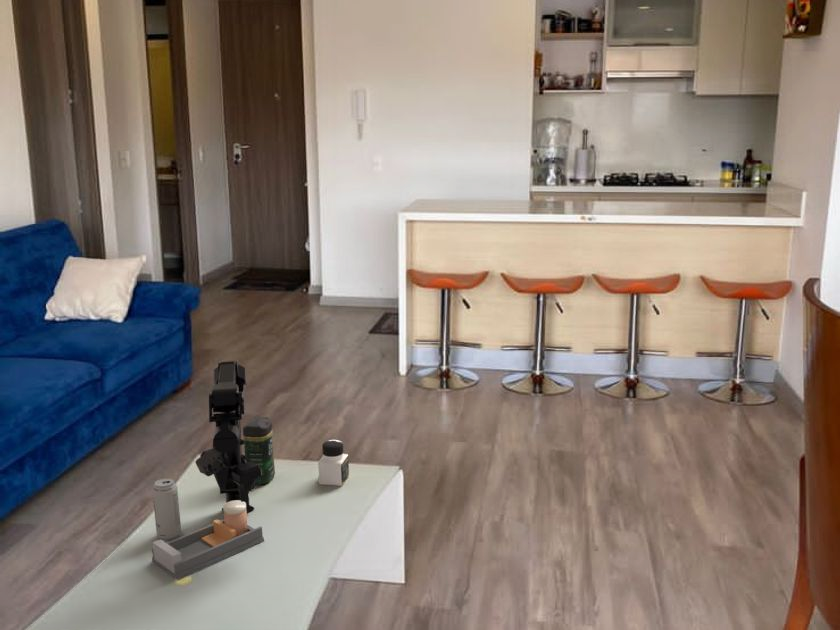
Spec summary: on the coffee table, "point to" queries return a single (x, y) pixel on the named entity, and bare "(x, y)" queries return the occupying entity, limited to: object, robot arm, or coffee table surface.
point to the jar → (236, 516)
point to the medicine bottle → (333, 464)
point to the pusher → (219, 534)
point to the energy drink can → (166, 509)
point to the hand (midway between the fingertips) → (232, 495)
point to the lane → (199, 550)
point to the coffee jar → (260, 447)
